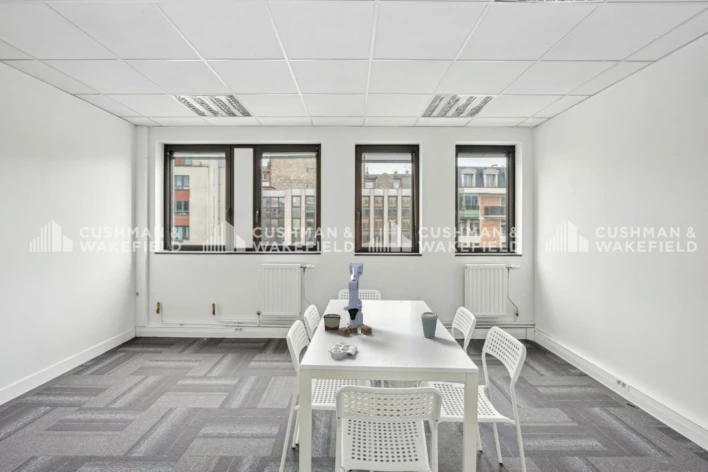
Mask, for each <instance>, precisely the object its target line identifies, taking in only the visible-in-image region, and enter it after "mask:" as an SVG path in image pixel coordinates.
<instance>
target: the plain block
mask: <svg viewBox="0 0 708 472" xmlns="http://www.w3.org/2000/svg"><path fill="white" fill-rule="evenodd" d="M346 328H349V329H350V334H351V335H354V334H355V335H356V334H358V333H359V326H354V325H352V326H351V325H349V326H346Z"/></svg>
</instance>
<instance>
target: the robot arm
mask: <svg viewBox="0 0 708 472" xmlns="http://www.w3.org/2000/svg"><path fill="white" fill-rule="evenodd" d="M348 266H349V267H348V268H349V274H350V279H349V281H348V301H347V306H344V307H343V311H347V312H348V315H349V322H347V323H346V325H349V326H352V325H354V326H357V327H359V326H361V325H362V326H363V325H364V313H363V312H362V310H363V301H362V300H361V299H360V298H359V291H360V290H359V289H360V278H361V276H363V273H364V263H363V262H350V263H349V265H348Z"/></svg>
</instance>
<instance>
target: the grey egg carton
mask: <svg viewBox="0 0 708 472" xmlns="http://www.w3.org/2000/svg"><path fill="white" fill-rule="evenodd" d="M357 350H358V347H357V346H356V345H355V344H354V345H353V344H348V342H346V341H345V342H343V341H339V342H337V343H335V344H333V345H332V346H331V347H330V350H328V353H330V355H331V356H330V357H331V358H332V359H334V360H338V359H343V358H353V357H354V356H355V354H356V352H357Z"/></svg>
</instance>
